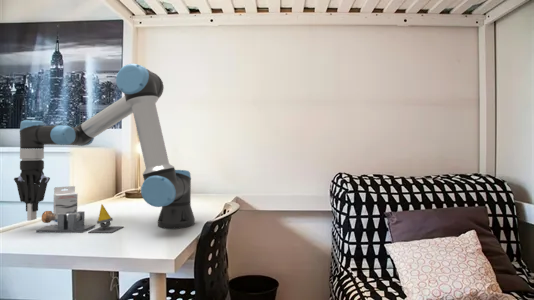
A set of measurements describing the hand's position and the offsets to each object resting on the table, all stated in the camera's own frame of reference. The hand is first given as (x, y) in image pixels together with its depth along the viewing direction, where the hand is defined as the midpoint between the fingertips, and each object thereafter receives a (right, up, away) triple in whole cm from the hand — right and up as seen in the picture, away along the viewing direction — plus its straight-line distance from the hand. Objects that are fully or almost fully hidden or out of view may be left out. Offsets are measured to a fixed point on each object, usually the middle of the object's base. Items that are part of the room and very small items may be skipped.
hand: (31, 219), depth 120 cm
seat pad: (+30, -4, -1) cm, 30 cm away
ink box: (+1, -4, +18) cm, 18 cm away
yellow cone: (+30, -4, -1) cm, 30 cm away
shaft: (+12, -1, 0) cm, 12 cm away
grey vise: (+14, -4, 0) cm, 14 cm away
